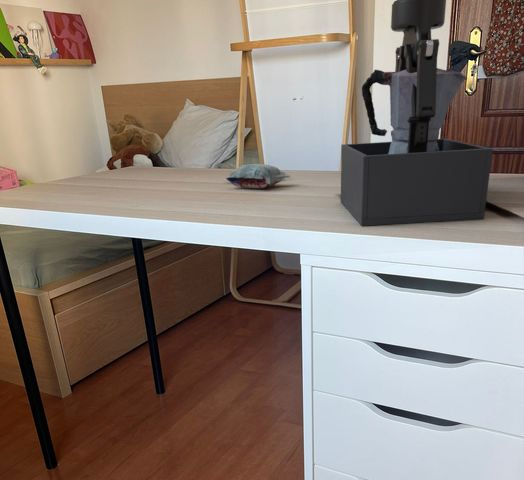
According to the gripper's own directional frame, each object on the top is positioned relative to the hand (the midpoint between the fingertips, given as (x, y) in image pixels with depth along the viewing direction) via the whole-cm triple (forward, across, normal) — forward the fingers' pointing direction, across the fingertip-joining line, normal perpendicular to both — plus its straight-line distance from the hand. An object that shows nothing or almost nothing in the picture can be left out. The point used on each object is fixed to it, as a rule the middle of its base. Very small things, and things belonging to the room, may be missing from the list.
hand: (408, 164), depth 85 cm
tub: (+7, 0, 0) cm, 7 cm away
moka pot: (+4, 0, 0) cm, 4 cm away
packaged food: (+7, -33, -24) cm, 41 cm away
